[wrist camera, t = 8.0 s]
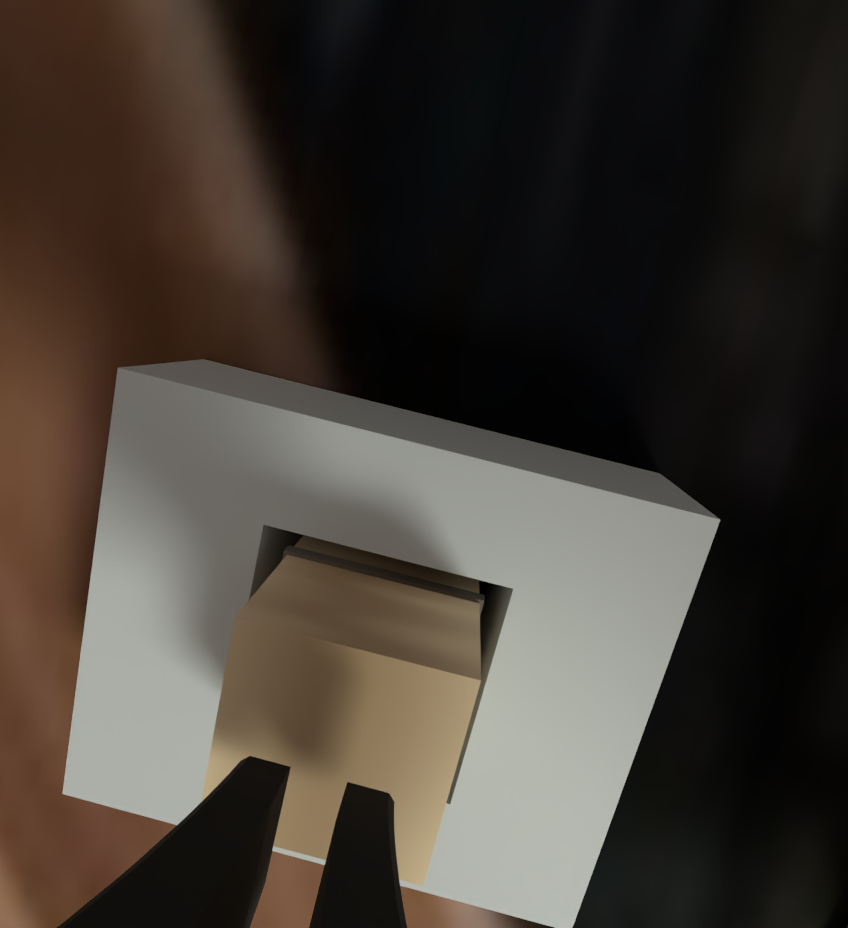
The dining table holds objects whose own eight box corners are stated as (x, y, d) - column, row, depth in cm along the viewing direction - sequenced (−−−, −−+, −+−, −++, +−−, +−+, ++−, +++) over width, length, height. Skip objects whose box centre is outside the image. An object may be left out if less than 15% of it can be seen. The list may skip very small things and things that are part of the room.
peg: (481, 535, 17) (487, 677, 10) (445, 672, 18) (426, 890, 11) (330, 497, 17) (230, 611, 10) (301, 635, 18) (191, 828, 11)
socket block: (659, 473, 16) (720, 519, 12) (549, 801, 18) (570, 931, 14) (203, 359, 16) (117, 367, 12) (150, 695, 18) (62, 793, 14)
